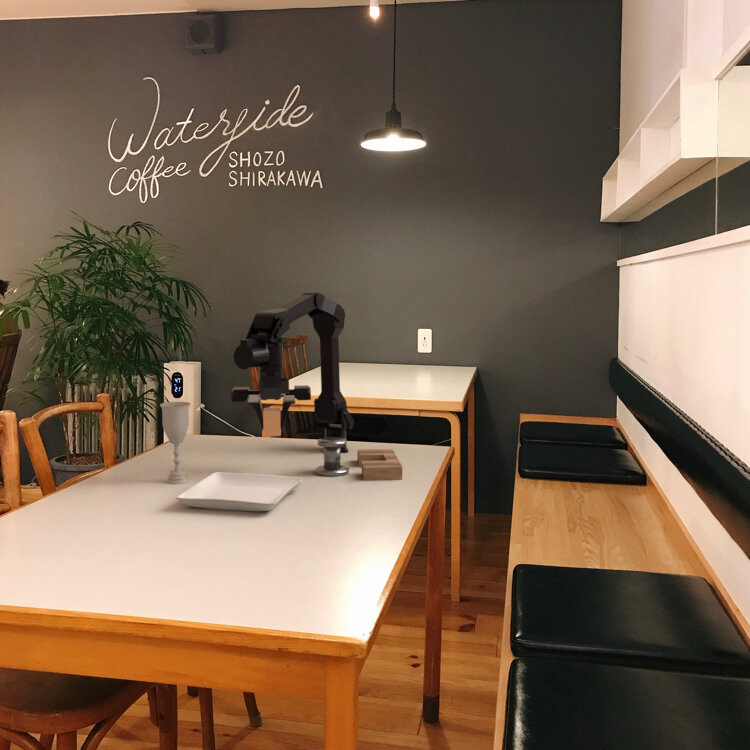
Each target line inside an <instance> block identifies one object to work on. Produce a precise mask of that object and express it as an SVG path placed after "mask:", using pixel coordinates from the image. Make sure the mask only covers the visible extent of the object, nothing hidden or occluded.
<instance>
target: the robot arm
mask: <svg viewBox="0 0 750 750" xmlns="http://www.w3.org/2000/svg"><path fill="white" fill-rule="evenodd" d="M306 315H307V317H309V318H311V319H310V320H311V321H312V326H313V328H312V329H314V331H315V333H316V335H317V336H318V338H319V354H320V355H319V358H320V361H319V362H320V390H321V391H320V393H319V395H318V396H317V398H314V401H313V403H314V406H313V407H314V410H313V414H314V417H315V420H316V425H317V428H318V429H321V428H322V429H324V438H326V437H339V438H345V439H346V440H347V431H350V430H352V429H353V428H354V424H355V419H354V418H353V416H352V415H351V413H350V412H349V410H348V406H347V405H348V404H347V399H346V398H345V397H344V395H343V394H342V391H341V387H340V385H341V383H340V346H339V337H340V335H341V333H342V332H343V330H344V327H345V319H346V311H345V308H343V307H342V305H341V304H339V303H338V302H336V301H334V300H332V299H329V298H328V297H326V296H325V295H324V294H322V293H320V292H317V291H316V292H315V291H313V292H312V291H308V292H307V291H305V292H304V293H302V294H301V295H300V296H298V297H296V298H295V299H292V300H291V301H289V302H286V303H285V304H283V305H282V306H280V307H278V308H274V309H267V310H261V311H258V312H256V313H255V315H254V316H253V319H252V322H251V324H250V325H249V328H248V331H247V333H246V336H245V338H242V339H240V340H239V343H240V344H239V345H238V346H236V348H235V350H234V353H233V361H234V363H235V365H236V366H237V368H239V369H240V370H249V369H254V368H258V383H257V384H258V389H250V386H234V387H233V389H232V390H231V397H230V398H231V399H230V400H231V402H232V403H238V402H240V403H243V402H246V401H247V405H248V406H252V407H253V409H254V411H255V413H256V415H257V418H258V420H259V423H260V426H261V429H262V430H264V428H263V410H264V409H263V405H262V401H268V400H274V401H279V400H281V399H283V400H282V406H281V430H282V429H283V428H284V425H285V421H286V418H287V414H288V411H289V409H290V407H291V406H292V405H294V404H296V400H297V401H310V400H312V390H311V387H310V385H294V387H293V388H290V379H289V377H284V358H283V356H284V355H283V354H284V353H283V346H284V345H287V344H288V340H287V339H286V338H284V337H283V336H284V335H285V334H286V333H287V332H288V331H289V330H290V329H291V324H293V323H294V322H296V321H297V320H299V319H301V318H303V317H304V316H306ZM322 448H323V451H324V447H322ZM340 453H349V448H348V445H345V446H341V447H340Z"/></svg>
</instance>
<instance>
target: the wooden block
mask: <svg viewBox="0 0 750 750" xmlns="http://www.w3.org/2000/svg"><path fill="white" fill-rule="evenodd" d="M262 410H263V428H264V429H263V437H281V435H282V429H281V414H282V409H281V407H263V409H262Z"/></svg>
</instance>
